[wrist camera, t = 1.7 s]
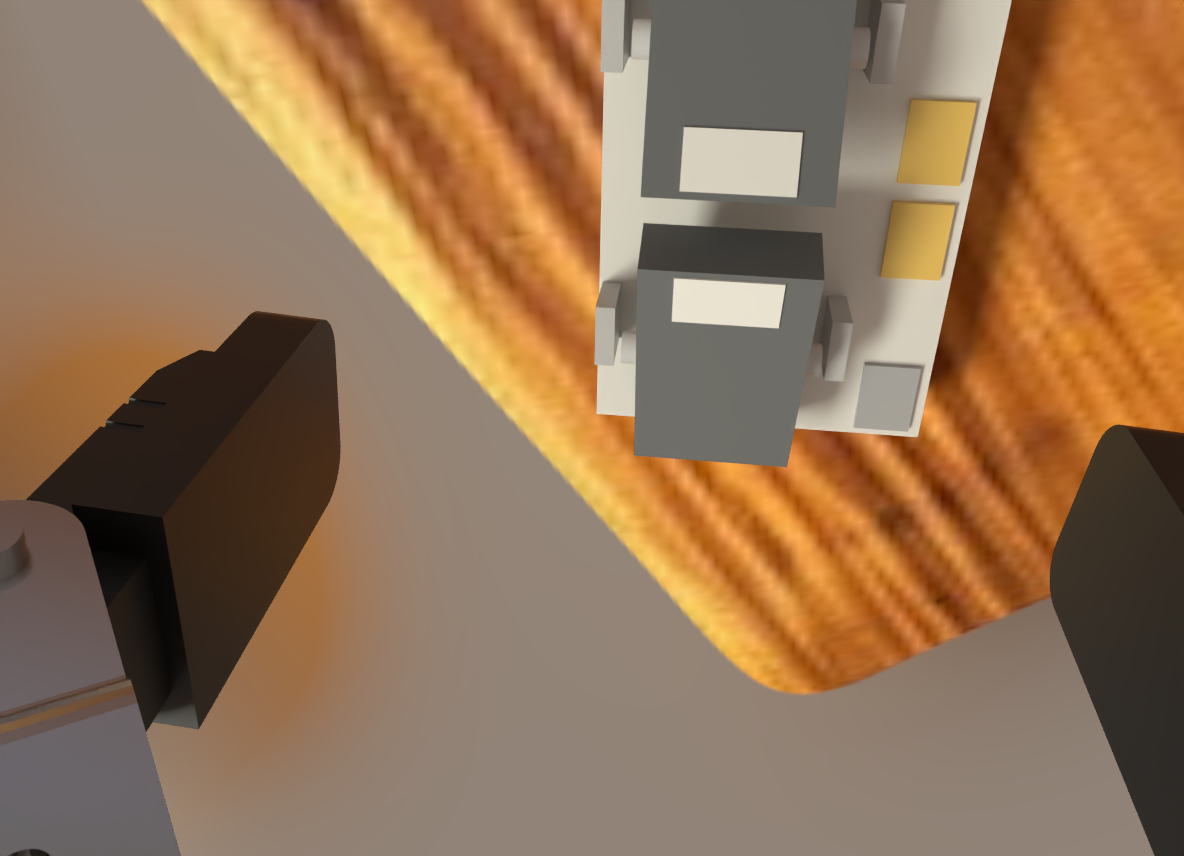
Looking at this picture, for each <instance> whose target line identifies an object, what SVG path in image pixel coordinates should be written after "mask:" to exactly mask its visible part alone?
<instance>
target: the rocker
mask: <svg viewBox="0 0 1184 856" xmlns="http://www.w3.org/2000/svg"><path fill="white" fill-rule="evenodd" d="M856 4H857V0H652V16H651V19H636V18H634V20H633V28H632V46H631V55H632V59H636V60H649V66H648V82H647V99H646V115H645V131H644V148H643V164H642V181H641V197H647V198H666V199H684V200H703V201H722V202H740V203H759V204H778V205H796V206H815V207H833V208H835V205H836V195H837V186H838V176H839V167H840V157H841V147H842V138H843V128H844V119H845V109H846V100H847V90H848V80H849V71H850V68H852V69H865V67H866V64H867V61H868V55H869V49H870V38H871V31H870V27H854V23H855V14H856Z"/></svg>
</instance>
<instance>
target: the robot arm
mask: <svg viewBox="0 0 1184 856" xmlns="http://www.w3.org/2000/svg"><path fill="white" fill-rule="evenodd" d="M335 355H336V354H335V340H334V334H333V331H332V328H331V325H330V324H329V323H328V321H326V320H321V319H314V318H306V317H298V316H291V315H283V314H276V313H268V312H260V311H256V312H254V313H252V314H250V315H249V316H248V317H247V318H246V319H245V321H244V322H242V324H241V325H240V326H239V327H238V328H237V329H236V330H235V331H234V332H233V333H232V334H231V335H230V336H229V337H228V338H227V339H226V341H225V342H224V343H223V344H222V345H221V346H220V347H219V348H218V349H217V350H216V351H215V352H211V351H203V350H199V351H197V352H195V353H192V354H190V355H188V356H186V357H184V358H182V359H180V360H178V361H176V362H174V363H172V364H170V365H168V366H166V367H163V368H162V369H159V370H157V371H156V372H155V373H154V374H153V375H152V376H151V377H150V378H149V379H148V380H147V381H146V382H145V383H144V384H143V385H142V386H141V387H140V388H139V389H138V390H137V391H136V392H135V393H134V394H133V395H132V396H131V397H130V398H129V403H128V404H123V405H122V406H120V408H119V409H117V410H116V411H115V412H114V414H112V416H110V417H109V418H108V419H107V421H106V426H105V427H99V428H98V429H97V430H96V431H95V432H94V433H93V434H92V435H91V436H90V437H89V438H88V439H87V440H86V441H85V442H84V443H83V444H82V445H81V446H80V447H79V448H78V449H77V450H76V451H75V452H74V453H73V454H72V455H71V456H70V457H69V458H68V459H67V460H66V461H65V462H64V463H63V464H62V465H61V466H60V467H59V468H58V469H57V470H56V471H55V472H54V473H53V474H52V475H51V476H50V477H49V478H48V479H46V480H45V481H44V482H43V484H41V486H39V487H38V488H37V489H36V490H35V491H34V492H33V493H32V494H31V495H30V496H29V497H28V498H27V499H26V500H5V501H0V856H181V854H180V851H179V847H178V844H177V840H176V837H175V833H174V830H173V826H172V823H171V819H170V815H169V812H168V808H167V805H166V802H165V798H164V794H163V791H162V787H161V784H160V780H159V777H158V773H157V770H156V766H155V763H154V759H153V756H152V752H151V748H150V745H149V741H148V738H147V734H146V732H147V729H148V728H149V727H150V725H151V724H152V722H155V723H161V724H168V725H174V726H181V727H187V728H194V729H199V728H200V726H201V725H202V723H203V721H204V719H205V718H206V716H207V714H208V712H209V710H210V709H211V707H212V705H213V704H214V702H215V700H216V698H217V697H218V695H219V693H220V691H221V690H222V687H223V686H224V685H225V683H226V681H227V679H228V677H229V676H230V674H231V672H232V670H233V669H234V667H235V665H236V664H237V662H238V660H239V658H240V657H241V655H242V653H243V651H244V650H245V648H246V646H247V644H248V643H249V641H250V639H251V638H252V636H253V634H254V632H255V631H256V628H257V627H258V625H259V623H260V622H261V620H262V618H263V617H264V615H265V613H266V611H267V610H268V608H269V606H270V604H271V603H272V601H273V599H274V597H275V596H276V594H277V592H278V591H279V589H280V587H281V585H282V583H283V582H284V580H285V578H286V577H287V575H288V573H289V571H290V570H291V568H292V566H293V564H294V563H295V561H296V559H297V557H298V556H299V554H300V552H301V550H302V549H303V547H304V545H305V544H306V542H307V540H308V538H309V536H310V535H311V533H312V531H313V530H314V528H315V526H316V524H317V522H318V521H319V519H320V517H321V516H322V514H323V512H324V510H325V509H326V507H327V505H328V503H329V501H330V499H331V497H332V494H333V491H334V488H335V484H336V480H337V475H338V470H339V463H340V429H339V412H338V411H339V410H338V393H337V374H336V356H335ZM1050 592H1051V598H1052V603H1053V606H1054V609H1055V611H1056V614H1057V616H1058V619H1059V621H1060V624H1061V626H1062V629H1063V631H1064V633H1065V636H1066V638H1067V641H1068V643H1069V646H1070V648H1071V651H1072V653H1073V656H1074V658H1075V661H1076V663H1077V665H1078V668H1079V670H1080V673H1081V675H1082V678H1083V680H1084V683H1085V685H1086V688H1087V690H1088V693H1089V695H1090V698H1091V700H1092V703H1093V705H1094V707H1095V710H1096V712H1097V715H1098V717H1099V720H1100V722H1101V725H1102V727H1103V730H1104V732H1105V735H1106V737H1107V739H1108V742H1109V744H1110V747H1111V749H1112V752H1113V754H1114V757H1115V759H1116V762H1117V764H1118V767H1119V769H1120V771H1121V774H1122V776H1123V779H1124V781H1125V784H1126V786H1127V789H1128V791H1129V794H1130V796H1131V799H1132V801H1133V804H1134V806H1135V809H1136V811H1137V813H1138V816H1139V818H1140V821H1141V823H1142V826H1143V828H1144V831H1145V833H1146V836H1147V838H1148V841H1149V843H1150V846H1151V848H1152V850H1153V853H1154V855H1155V856H1184V433H1179V432H1172V431H1164V430H1156V429H1148V428H1141V427H1133V426H1125V425H1114V426H1112V427H1110V428H1109V429H1108V430H1107V431H1106V432H1105V433H1104V434H1103V436H1102V437H1101V439H1100V440H1099V442H1098V444H1097V447H1096V449H1095V451H1094V454H1093V456H1092V458H1091V461H1090V463H1089V466H1088V468H1087V470H1086V473H1085V475H1084V478H1083V480H1082V483H1081V485H1080V487H1079V490H1078V492H1077V495H1076V497H1075V499H1074V502H1073V504H1072V507H1071V509H1070V512H1069V514H1068V516H1067V519H1066V521H1065V524H1064V526H1063V529H1062V531H1061V533H1060V536H1059V538H1058V541H1057V543H1056V546H1055V549H1054V552H1053V556H1052V562H1051V569H1050Z"/></svg>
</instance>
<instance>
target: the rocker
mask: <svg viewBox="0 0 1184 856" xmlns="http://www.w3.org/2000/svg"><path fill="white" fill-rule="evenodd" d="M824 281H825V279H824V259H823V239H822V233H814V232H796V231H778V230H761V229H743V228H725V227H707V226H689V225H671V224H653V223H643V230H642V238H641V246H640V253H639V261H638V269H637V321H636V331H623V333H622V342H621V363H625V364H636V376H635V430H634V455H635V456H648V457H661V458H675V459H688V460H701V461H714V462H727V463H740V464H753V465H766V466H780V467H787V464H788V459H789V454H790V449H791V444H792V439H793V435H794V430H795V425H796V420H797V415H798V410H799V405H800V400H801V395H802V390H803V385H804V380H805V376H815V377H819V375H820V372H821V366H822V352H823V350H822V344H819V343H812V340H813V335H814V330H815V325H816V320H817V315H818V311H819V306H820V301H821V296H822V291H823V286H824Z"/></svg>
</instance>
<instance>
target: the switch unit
mask: <svg viewBox="0 0 1184 856" xmlns="http://www.w3.org/2000/svg"><path fill="white" fill-rule="evenodd" d="M1011 2H1012V0H857V4H856V14H855V23H854V27H870V31H871V38H870V49H869V55H868V61H867V64H866V67H865V69H852V68H850V71H849V80H848V90H847V100H846V109H845V119H844V128H843V138H842V147H841V157H840V167H839V176H838V186H837V195H836V205H835V208H833V207H815V206H796V205H778V204H759V203H740V202H722V201H703V200H684V199H666V198H647V197H641V181H642V164H643V148H644V131H645V115H646V99H647V82H648V66H649V60H636V59H632V55H631V46H632V28H633V20H634V18H636V19H651V16H652V0H602V25H601V72H604V104H603V149H602V195H601V241H600V287H599V297H598V301H597V305H596V324H595V365H598V378H597V414H607V415H621V416H634V417H635V376H636V364H625V363H621V342H622V333H623V331H636V321H637V269H638V261H639V253H640V246H641V238H642V230H643V223H653V224H671V225H689V226H707V227H725V228H743V229H761V230H778V231H796V232H814V233H822V239H823V259H824V279H825V281H824V286H823V291H822V296H821V301H820V306H819V311H818V315H817V320H816V325H815V330H814V335H813V340H812V343H819V344H822V350H823V352H822V366H821V372H820V375H819V377H815V376H805V380H804V385H803V390H802V395H801V400H800V405H799V410H798V415H797V420H796V425H795V428H799V429H813V430H827V431H840V432H854V433H868V434H882V435H895V436H909V437H918V432H919V428H920V423H921V419H922V414H923V409H924V405H925V400H926V395H927V391H928V386H929V382H930V377H931V372H932V368H933V363H934V358H935V354H936V349H937V345H938V340H939V335H940V331H941V326H942V321H943V317H944V312H945V307H946V303H947V298H948V294H949V289H950V284H951V280H952V275H953V270H954V266H955V261H956V257H957V252H958V247H959V243H960V238H961V233H962V229H963V224H964V219H965V215H966V210H967V206H968V201H969V196H970V192H971V187H972V182H973V178H974V173H975V169H976V164H977V159H978V155H979V150H980V145H981V141H982V136H983V132H984V127H985V122H986V118H987V113H988V108H989V104H990V99H991V94H992V90H993V85H994V81H995V76H996V71H997V67H998V62H999V57H1000V53H1001V48H1002V44H1003V39H1004V34H1005V30H1006V25H1007V20H1008V16H1009V11H1010V6H1011Z"/></svg>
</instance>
